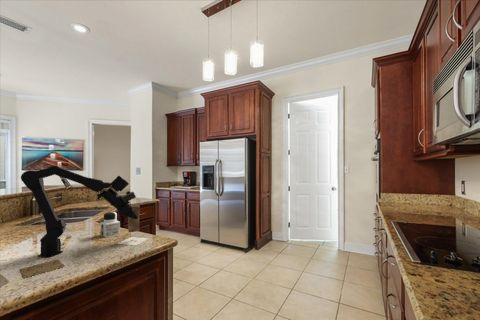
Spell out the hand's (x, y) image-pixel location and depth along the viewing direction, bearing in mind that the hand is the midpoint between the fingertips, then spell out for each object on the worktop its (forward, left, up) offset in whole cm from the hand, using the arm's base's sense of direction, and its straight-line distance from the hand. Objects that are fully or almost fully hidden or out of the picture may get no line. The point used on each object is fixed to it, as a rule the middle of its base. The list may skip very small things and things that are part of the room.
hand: (136, 217), depth 118 cm
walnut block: (-1, +1, -7) cm, 7 cm away
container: (+7, +22, -13) cm, 26 cm away
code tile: (-1, +1, -12) cm, 13 cm away
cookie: (-35, +16, -13) cm, 41 cm away
